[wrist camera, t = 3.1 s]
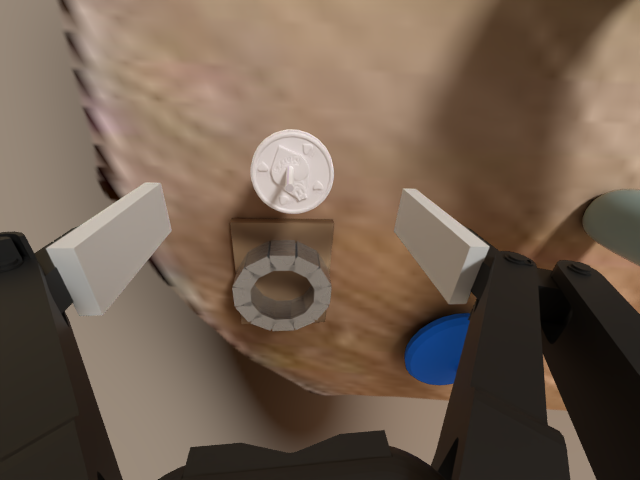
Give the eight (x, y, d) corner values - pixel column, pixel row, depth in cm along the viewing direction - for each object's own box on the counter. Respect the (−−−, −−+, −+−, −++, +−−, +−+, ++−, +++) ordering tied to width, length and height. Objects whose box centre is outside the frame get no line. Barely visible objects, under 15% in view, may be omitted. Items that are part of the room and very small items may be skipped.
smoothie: (308, 107, 27) (323, 123, 15) (330, 166, 30) (357, 220, 18) (250, 132, 28) (219, 168, 16) (277, 188, 31) (269, 254, 19)
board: (232, 218, 32) (230, 222, 31) (332, 219, 33) (334, 223, 32) (242, 317, 40) (241, 324, 39) (324, 315, 41) (325, 321, 40)
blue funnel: (501, 339, 48) (532, 376, 42) (422, 379, 52) (440, 418, 46) (470, 286, 41) (502, 321, 35) (381, 336, 45) (396, 375, 39)
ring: (234, 239, 32) (228, 255, 29) (330, 240, 33) (334, 255, 30) (242, 312, 38) (237, 332, 35) (324, 310, 39) (327, 329, 36)
